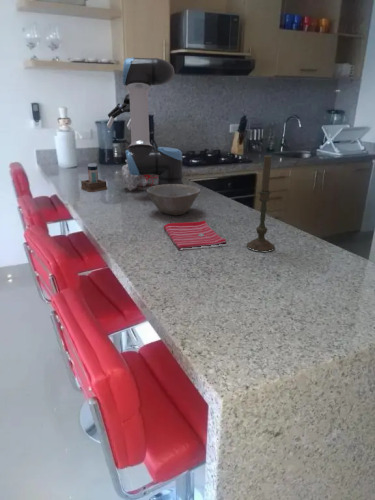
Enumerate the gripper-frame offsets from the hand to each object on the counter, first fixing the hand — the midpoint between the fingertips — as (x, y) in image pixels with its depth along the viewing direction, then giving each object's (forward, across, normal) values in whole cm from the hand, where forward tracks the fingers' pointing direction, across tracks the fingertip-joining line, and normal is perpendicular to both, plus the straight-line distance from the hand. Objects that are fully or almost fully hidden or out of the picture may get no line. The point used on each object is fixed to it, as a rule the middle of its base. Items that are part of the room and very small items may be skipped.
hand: (118, 127), depth 217 cm
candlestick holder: (+71, -104, +28) cm, 129 cm away
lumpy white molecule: (+29, -20, -13) cm, 38 cm away
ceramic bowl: (+54, -60, +12) cm, 82 cm away
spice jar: (+39, -1, -2) cm, 39 cm away
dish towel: (+72, -81, +28) cm, 111 cm away
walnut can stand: (+40, -1, -2) cm, 40 cm away
